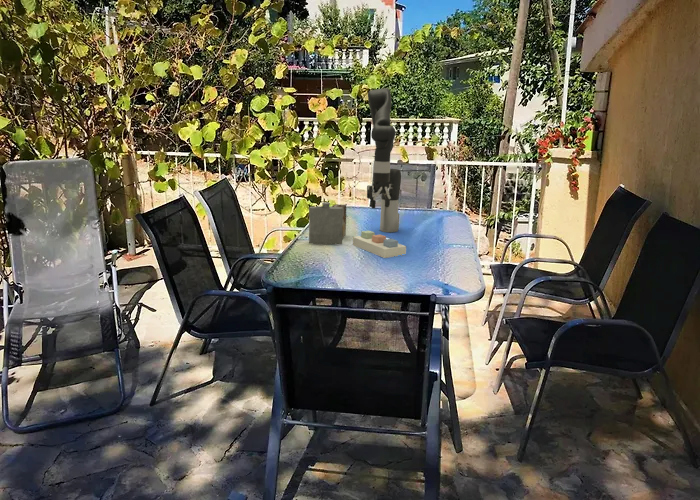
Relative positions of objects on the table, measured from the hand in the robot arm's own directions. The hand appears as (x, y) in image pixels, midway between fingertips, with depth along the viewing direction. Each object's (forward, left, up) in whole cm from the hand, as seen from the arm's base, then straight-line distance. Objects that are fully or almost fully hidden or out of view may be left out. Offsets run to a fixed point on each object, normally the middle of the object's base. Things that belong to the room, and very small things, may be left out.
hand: (380, 207), depth 245 cm
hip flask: (+16, -21, -20) cm, 33 cm away
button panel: (0, 0, -20) cm, 20 cm away
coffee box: (+4, -29, -20) cm, 36 cm away
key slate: (0, +9, -16) cm, 19 cm away
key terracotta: (0, 0, -16) cm, 16 cm away
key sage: (0, -9, -16) cm, 18 cm away
